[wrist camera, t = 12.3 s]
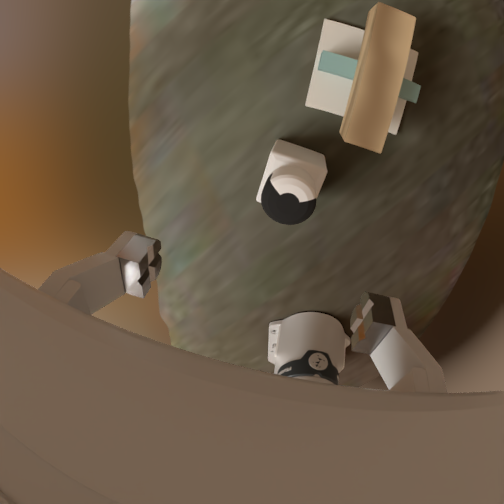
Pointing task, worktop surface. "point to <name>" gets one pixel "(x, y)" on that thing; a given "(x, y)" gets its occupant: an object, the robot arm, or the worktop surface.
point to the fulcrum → (349, 72)
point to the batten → (378, 77)
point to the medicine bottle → (291, 182)
